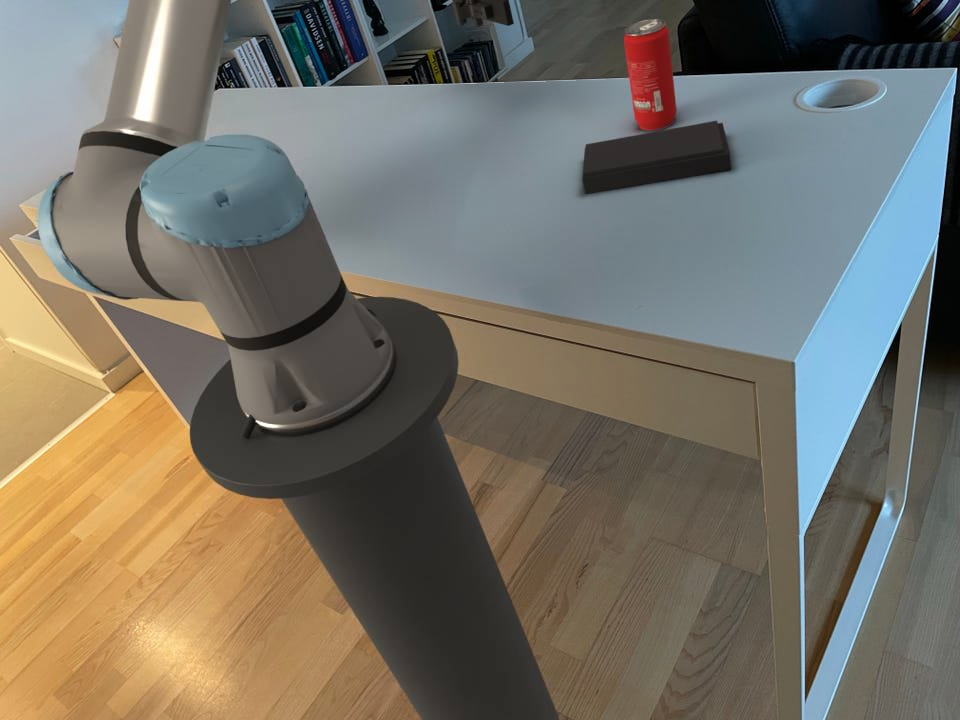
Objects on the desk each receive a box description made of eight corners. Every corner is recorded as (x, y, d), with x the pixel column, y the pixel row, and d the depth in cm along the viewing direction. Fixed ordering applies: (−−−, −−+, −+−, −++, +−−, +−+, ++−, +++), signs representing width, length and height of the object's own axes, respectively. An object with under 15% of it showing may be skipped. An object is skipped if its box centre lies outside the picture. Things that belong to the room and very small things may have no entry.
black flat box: (723, 138, 90) (722, 118, 88) (730, 170, 84) (729, 148, 82) (587, 162, 94) (584, 143, 92) (585, 193, 88) (581, 174, 86)
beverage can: (627, 126, 99) (614, 31, 92) (660, 110, 100) (649, 15, 93) (652, 135, 95) (640, 38, 88) (686, 119, 96) (676, 21, 89)
